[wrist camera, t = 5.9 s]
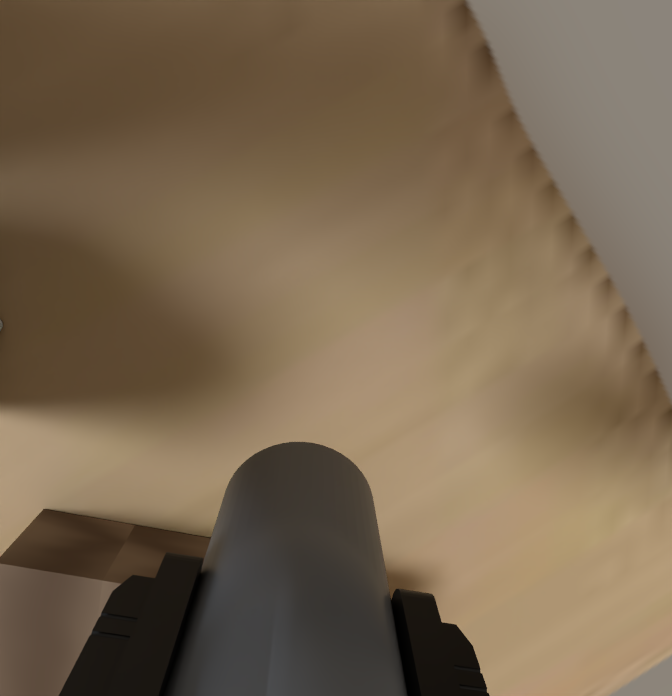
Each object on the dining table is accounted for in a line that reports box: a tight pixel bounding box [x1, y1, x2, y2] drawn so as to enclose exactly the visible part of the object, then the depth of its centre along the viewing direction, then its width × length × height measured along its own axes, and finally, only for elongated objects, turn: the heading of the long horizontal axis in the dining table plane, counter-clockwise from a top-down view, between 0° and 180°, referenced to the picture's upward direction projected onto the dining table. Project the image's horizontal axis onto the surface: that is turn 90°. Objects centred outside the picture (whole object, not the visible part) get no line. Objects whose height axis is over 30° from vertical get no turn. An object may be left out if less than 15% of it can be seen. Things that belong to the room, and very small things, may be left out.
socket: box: [0, 509, 211, 696], centre depth 27 cm, size 14×14×4 cm
